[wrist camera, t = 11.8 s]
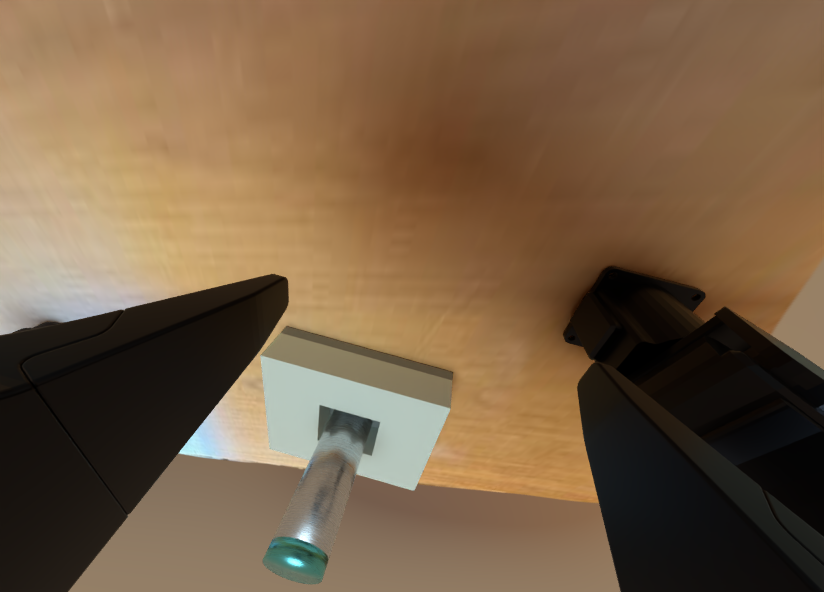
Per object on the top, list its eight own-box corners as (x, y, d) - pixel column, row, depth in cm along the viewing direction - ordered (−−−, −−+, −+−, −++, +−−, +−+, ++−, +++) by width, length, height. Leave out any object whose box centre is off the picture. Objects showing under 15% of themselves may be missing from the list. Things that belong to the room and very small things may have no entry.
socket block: (452, 372, 27) (450, 408, 23) (419, 454, 34) (414, 490, 31) (286, 326, 27) (260, 355, 24) (289, 416, 35) (269, 449, 31)
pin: (370, 390, 28) (308, 560, 17) (381, 418, 30) (330, 587, 19) (333, 391, 29) (251, 553, 18) (345, 418, 31) (278, 579, 20)
